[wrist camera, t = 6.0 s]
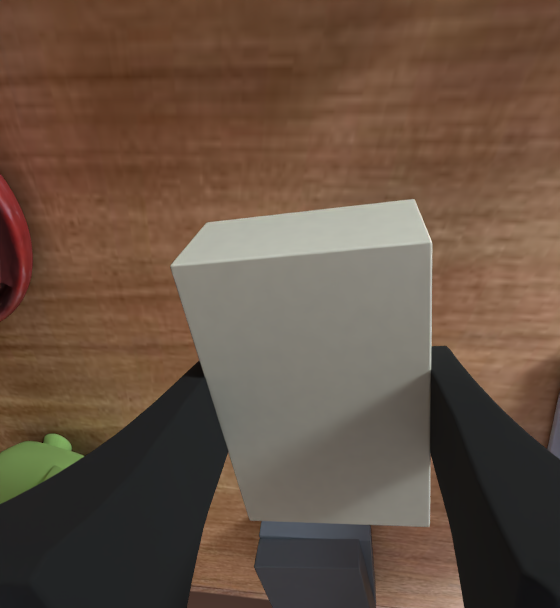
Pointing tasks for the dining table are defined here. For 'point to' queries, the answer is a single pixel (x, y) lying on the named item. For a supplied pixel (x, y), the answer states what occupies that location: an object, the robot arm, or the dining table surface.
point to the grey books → (316, 565)
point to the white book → (319, 359)
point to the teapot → (33, 464)
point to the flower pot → (13, 252)
